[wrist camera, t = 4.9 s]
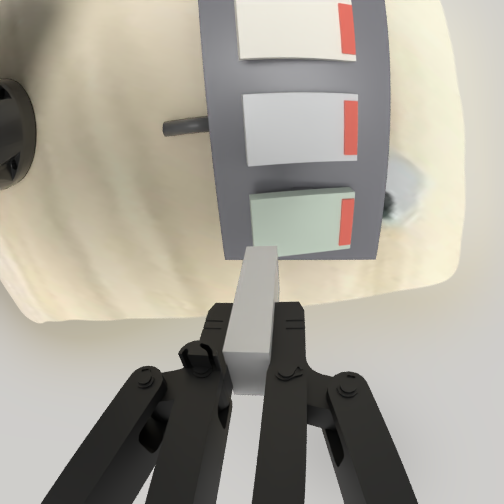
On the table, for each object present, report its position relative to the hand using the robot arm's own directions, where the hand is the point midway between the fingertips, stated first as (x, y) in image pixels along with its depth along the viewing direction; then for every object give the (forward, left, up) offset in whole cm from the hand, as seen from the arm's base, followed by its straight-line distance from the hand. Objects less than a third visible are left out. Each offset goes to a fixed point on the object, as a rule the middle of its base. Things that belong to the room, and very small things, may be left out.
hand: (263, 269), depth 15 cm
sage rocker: (+2, -2, -9) cm, 9 cm away
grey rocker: (+2, +6, -9) cm, 11 cm away
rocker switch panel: (0, +6, -14) cm, 15 cm away
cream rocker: (+2, +13, -9) cm, 16 cm away
